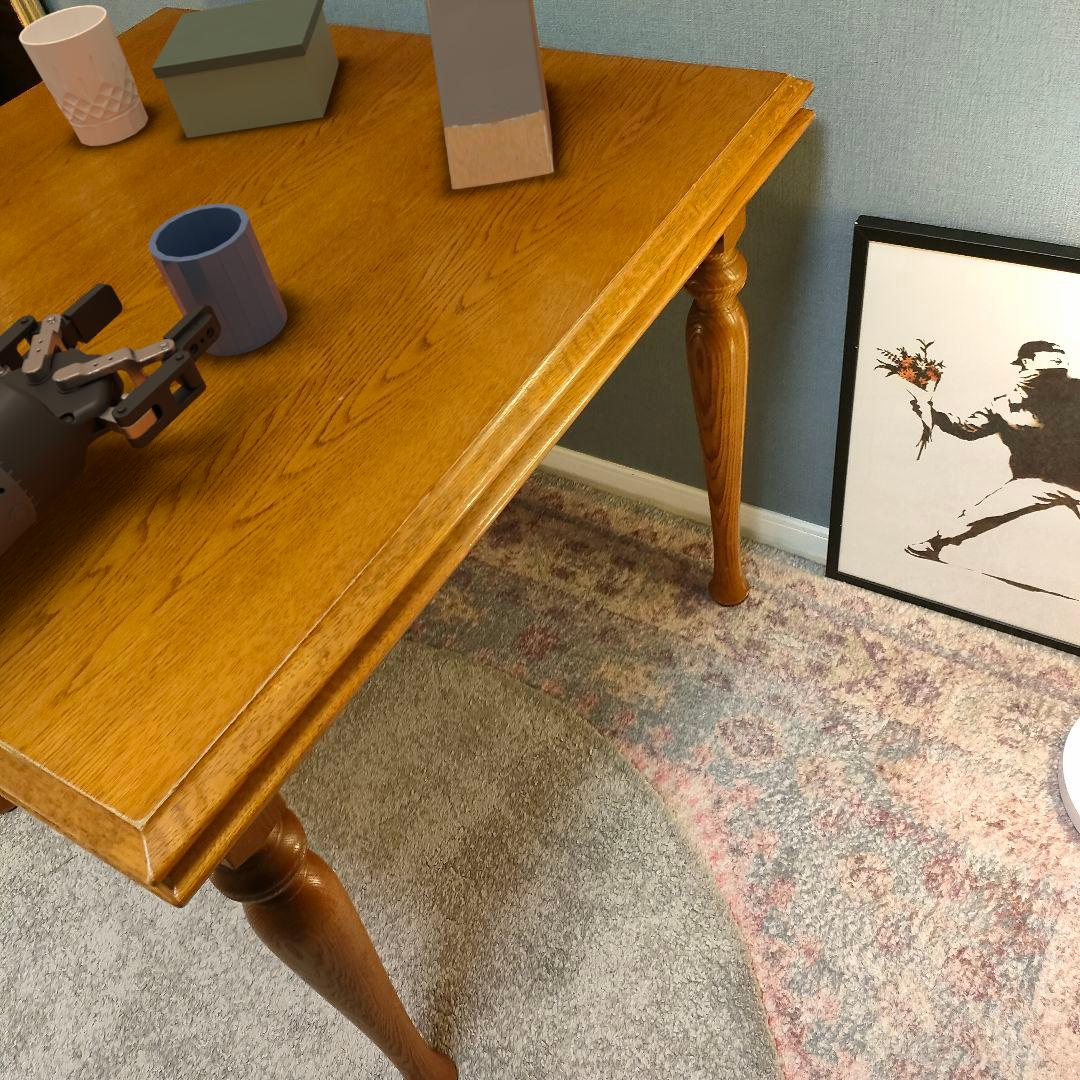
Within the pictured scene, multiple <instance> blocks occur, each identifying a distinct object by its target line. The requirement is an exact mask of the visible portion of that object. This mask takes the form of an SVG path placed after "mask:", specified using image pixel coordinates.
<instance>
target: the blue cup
mask: <svg viewBox="0 0 1080 1080" xmlns="http://www.w3.org/2000/svg"><path fill="white" fill-rule="evenodd" d="M147 245H148V249H149V254H150V255H151V257H152V259H153V261H154V263H155V265H156V267H157V269H158V271H159V273H160V275H161V277H162V279H163V280H164V283H165V284H166V287H167V288H168V291H169V292H170V294H171V297H172V298H173V300H174V302H175V304H176V306H177V308H178V310H179V312H180V314H181V316H182V318H183V317H184V316H185V315H186V314H187V313H188V312H189V311H190V310H191V309H192V308H193V307H194V306H195V305H197V304H204V305H209V306H211V307H212V309H213V311H214V313H215V315H216V317H217V319H218V321H219V323H220V326H221V331H220V332H221V334H220V336H219V338H218V339H217V340H216V341H215V342H214V343H213V344H212V345H211V346H210V347H209V348H208V349H207V350H206V351H205V352H204V353H206V354H208V355H213V356H217V357H231V356H232V357H233V356H238V355H243V354H247V353H249V352H252V351H254V350H257V349H259V348H261V347H263V346H264V345H266V344H268V343H269V342H270V341H273V339H275V338H276V337H277V336H278V335H279V334H280V333H281V332H282V331H283V329H284V327H285V325H286V324H287V320H288V310H287V308H286V305H285V302H284V301H283V298H282V295H281V293H280V291H279V288H278V287H277V283H276V281H275V279H274V276H273V274H272V271H271V269H270V267H269V264H268V262H267V259H266V257H265V255H264V252H263V249H262V248H261V245H260V242H259V239H258V238H257V236H256V233H255V230H254V228H253V226H252V223H251V221H250V218H249V216H248V213H247V211H246V210H245V209H243V208H242V207H240V206H238V205H236V204H232V203H231V204H229V203H221V202H219V203H218V202H217V203H210V204H203V205H198V206H195V207H193V208H192V207H191V208H189V209H186V210H183V211H181V212H179V213H178V214H176V215H174V216H172V217H170V218H169V219H167V220H165V221H164V222H163V223H162V224H161V225H160V226H158V227H157V229H155V230H154V231H153V232H152V235H151V236H150V238H149V241H148V243H147Z"/></svg>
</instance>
